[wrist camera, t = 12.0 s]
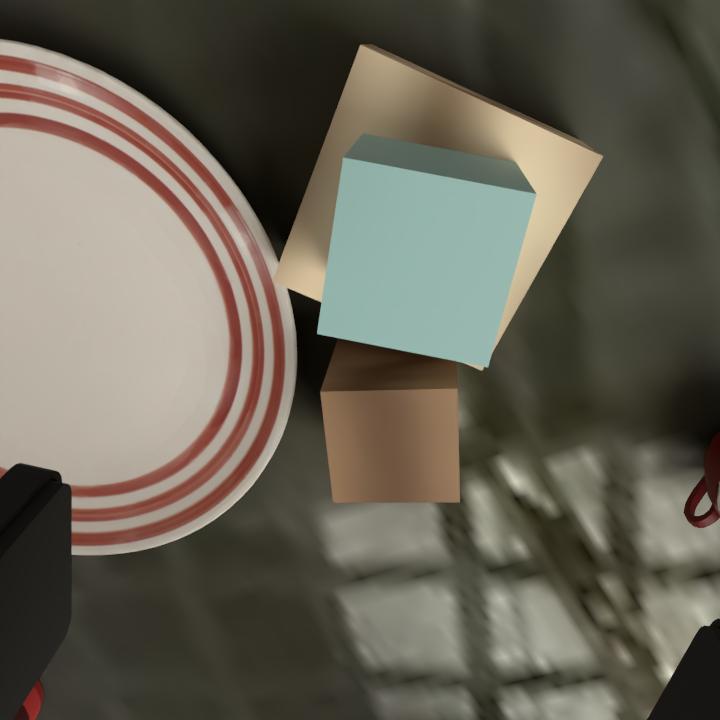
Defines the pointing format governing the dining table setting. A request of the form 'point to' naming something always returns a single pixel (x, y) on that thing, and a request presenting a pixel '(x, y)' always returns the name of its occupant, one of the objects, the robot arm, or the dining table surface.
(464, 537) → the dining table surface
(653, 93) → the dining table surface
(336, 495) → the walnut cube
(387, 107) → the oak pedestal
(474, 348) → the teal cube
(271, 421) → the dinner plate
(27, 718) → the canned food
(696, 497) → the cocoa
